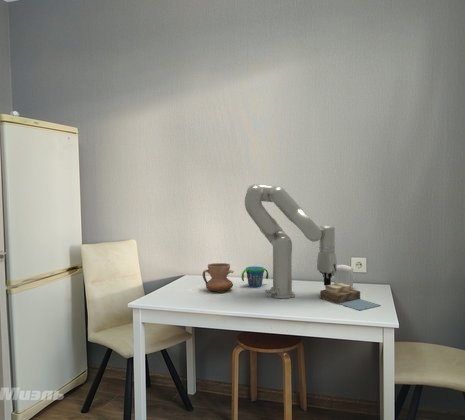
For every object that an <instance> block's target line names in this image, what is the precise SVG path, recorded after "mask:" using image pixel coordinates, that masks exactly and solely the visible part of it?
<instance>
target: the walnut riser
mask: <svg viewBox="0 0 465 420" xmlns="http://www.w3.org/2000/svg"><path fill="white" fill-rule="evenodd" d="M319 293H320V294H319V295H320V300H323V301H327V302H330V303H333V304H335V305H340V304H339V303H343V302H348V301H352V300H357V299H361V291H359V290H356V289H354V288H352V289H350V291H345V292H340V293H333V292H329V291H326V290H325V289H322V290H320V291H319Z"/></svg>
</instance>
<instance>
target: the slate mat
mask: <svg viewBox="0 0 465 420" xmlns="http://www.w3.org/2000/svg"><path fill="white" fill-rule="evenodd" d="M338 305H341V306H344V307H346V308H350V309H353V310H356V311H365V310H369V309H374V308H377V307H378V308H379V307H381V306H382V305H381V304H378V303H376V302H372V301H368V300H365V299H362V298H360V299H357V300H352V301H348V302H343V303H339V304H338Z"/></svg>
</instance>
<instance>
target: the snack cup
mask: <svg viewBox="0 0 465 420" xmlns="http://www.w3.org/2000/svg"><path fill="white" fill-rule="evenodd" d="M265 272H266V275H265V279H266V280H268V279H269V271H268V269H266V268H265V267H262V266H255V265H253V266H246V267H245V269H244V270H243V271H242V272H241V281H242V282H245V280H244V279H245V273H246V277H247V283H248V287H250V288H251V287H252V288H257V287H261V286H262V285H263V280H264V274H265Z"/></svg>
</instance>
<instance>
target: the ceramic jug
mask: <svg viewBox="0 0 465 420" xmlns="http://www.w3.org/2000/svg"><path fill="white" fill-rule="evenodd" d="M230 268H231V264H230V263H227V262H222V263H219V262H218V263H217V262H214V263H208V264H207V269H204V270H203V271H202V279H203V281H204V283H205V287H206V289H207V290H209V291H210V292H215V293H222V292H227V291H230V290H231V289H232V288H234V287H233V286H234V283H233V281H232V280H230V279H229V278H227V277H228V276H229V274H230V273H231V274H233V273H234V272H235V271H234V270H233V269H230ZM206 273H208V274H209V275H210V277H211V278H210V279H209V280H208V281H207V278H206Z"/></svg>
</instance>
